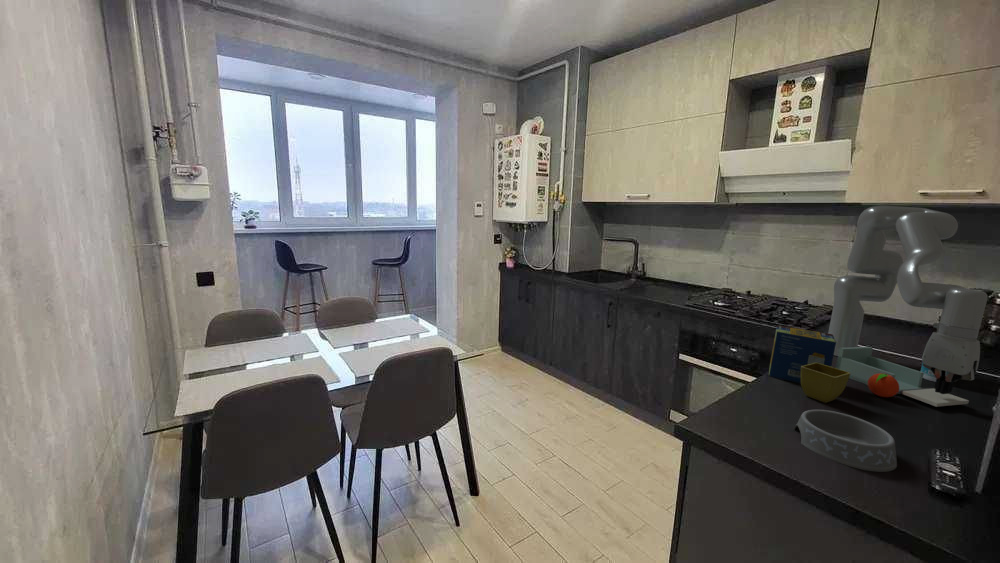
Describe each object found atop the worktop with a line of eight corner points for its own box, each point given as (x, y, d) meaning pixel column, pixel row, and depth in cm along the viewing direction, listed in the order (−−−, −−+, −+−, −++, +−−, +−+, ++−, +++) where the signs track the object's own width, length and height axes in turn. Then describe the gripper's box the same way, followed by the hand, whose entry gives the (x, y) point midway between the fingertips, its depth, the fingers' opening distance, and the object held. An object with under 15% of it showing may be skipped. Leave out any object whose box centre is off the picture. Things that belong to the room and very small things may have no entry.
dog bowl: (807, 457, 86) (812, 434, 85) (786, 420, 103) (790, 400, 102) (911, 482, 80) (917, 458, 79) (871, 437, 96) (876, 417, 95)
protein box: (769, 367, 140) (776, 324, 138) (824, 379, 132) (833, 334, 129) (768, 376, 132) (775, 331, 129) (827, 389, 123) (837, 341, 121)
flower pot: (829, 407, 111) (835, 377, 109) (794, 394, 118) (800, 365, 117) (845, 402, 115) (851, 372, 113) (810, 390, 122) (815, 362, 121)
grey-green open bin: (834, 372, 139) (839, 347, 137) (863, 370, 142) (868, 346, 140) (892, 394, 122) (898, 366, 121) (923, 392, 126) (930, 364, 124)
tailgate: (898, 389, 121) (936, 403, 112) (929, 386, 124) (969, 400, 115) (897, 392, 121) (935, 406, 112) (929, 389, 124) (968, 403, 116)
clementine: (887, 403, 116) (892, 380, 115) (858, 393, 122) (863, 371, 121) (901, 399, 119) (906, 376, 118) (872, 389, 125) (877, 368, 124)
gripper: (915, 324, 119) (901, 382, 122) (985, 340, 105) (968, 405, 108) (933, 324, 121) (919, 381, 124) (1004, 339, 107) (986, 403, 110)
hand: (942, 392), depth 116 cm, fingers closed
